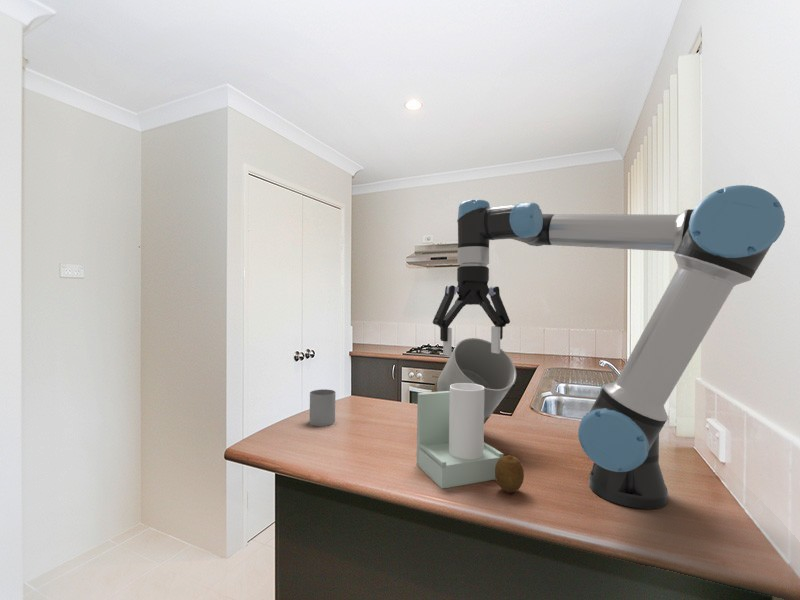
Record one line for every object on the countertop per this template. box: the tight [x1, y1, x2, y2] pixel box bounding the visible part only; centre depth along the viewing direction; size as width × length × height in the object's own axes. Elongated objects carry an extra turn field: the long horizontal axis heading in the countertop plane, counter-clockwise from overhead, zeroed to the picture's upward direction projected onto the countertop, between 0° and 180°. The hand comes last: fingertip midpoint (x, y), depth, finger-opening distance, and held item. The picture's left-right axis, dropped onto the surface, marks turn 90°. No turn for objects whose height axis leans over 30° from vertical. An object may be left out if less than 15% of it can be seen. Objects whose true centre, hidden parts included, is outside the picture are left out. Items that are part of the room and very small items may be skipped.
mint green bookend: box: [416, 391, 504, 489], centre depth 101 cm, size 14×16×18 cm
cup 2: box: [449, 383, 485, 460], centre depth 99 cm, size 8×8×16 cm
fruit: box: [495, 454, 525, 493], centre depth 90 cm, size 6×6×8 cm
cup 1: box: [309, 388, 336, 427], centre depth 138 cm, size 8×8×10 cm
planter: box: [430, 337, 517, 425], centre depth 124 cm, size 19×19×26 cm
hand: (472, 354), depth 100 cm, fingers open, 13 cm apart
